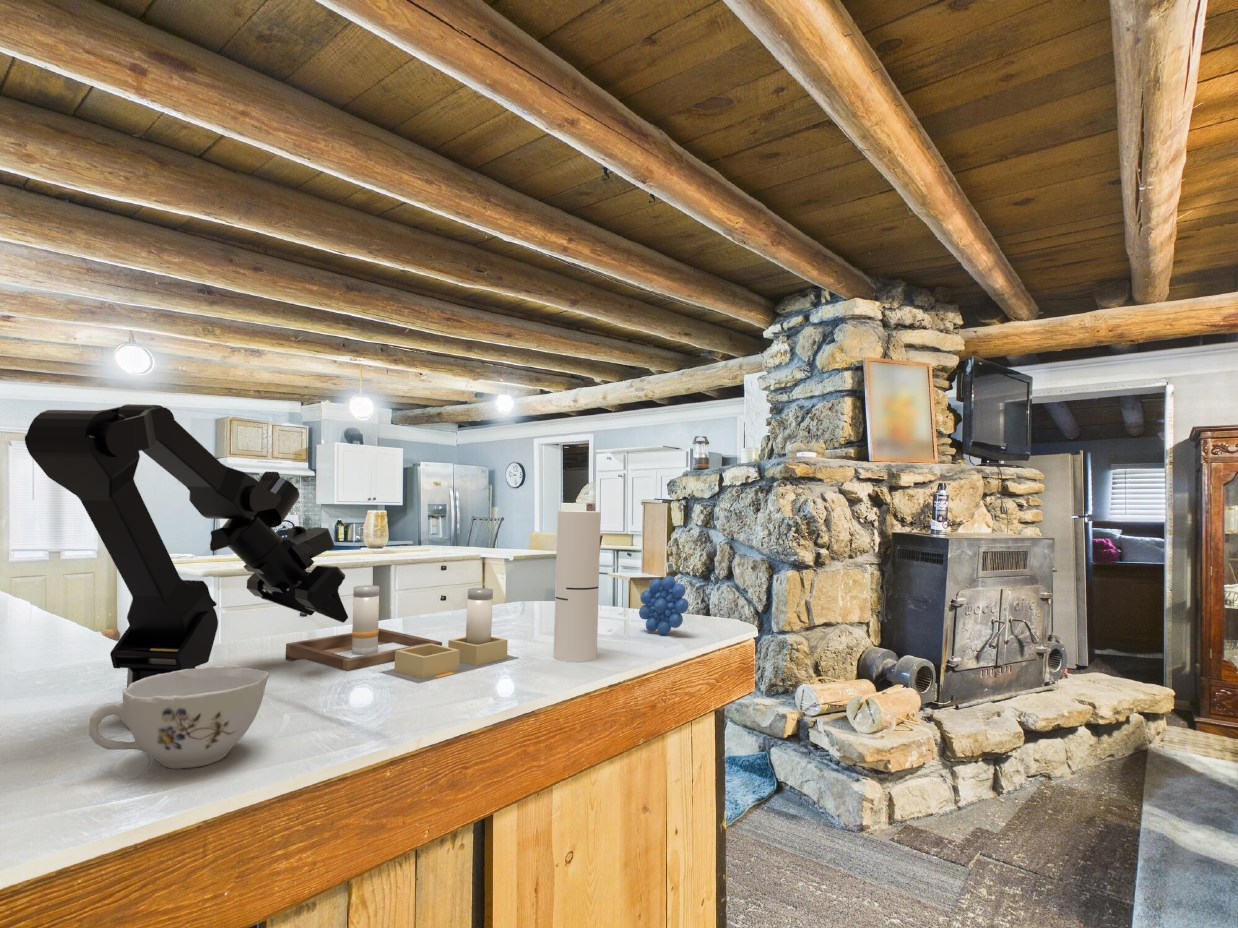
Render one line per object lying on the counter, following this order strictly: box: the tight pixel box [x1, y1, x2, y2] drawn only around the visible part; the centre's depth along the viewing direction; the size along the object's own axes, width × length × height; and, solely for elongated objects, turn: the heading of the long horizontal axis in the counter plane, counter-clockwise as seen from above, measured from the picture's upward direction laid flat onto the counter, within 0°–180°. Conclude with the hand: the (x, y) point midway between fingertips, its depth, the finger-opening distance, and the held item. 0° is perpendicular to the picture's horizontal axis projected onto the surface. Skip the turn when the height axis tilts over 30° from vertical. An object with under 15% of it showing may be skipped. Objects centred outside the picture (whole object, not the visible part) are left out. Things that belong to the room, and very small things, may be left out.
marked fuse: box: [351, 584, 380, 656], centre depth 112 cm, size 4×4×11 cm
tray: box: [284, 627, 443, 672], centre depth 112 cm, size 17×17×2 cm
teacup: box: [88, 666, 270, 769], centre depth 68 cm, size 15×12×8 cm
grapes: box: [638, 575, 689, 636], centre depth 138 cm, size 12×7×12 cm, turn 53°
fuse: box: [465, 587, 494, 645], centre depth 110 cm, size 4×4×11 cm
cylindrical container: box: [553, 510, 602, 664], centre depth 113 cm, size 7×7×25 cm
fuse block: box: [379, 635, 520, 684], centre depth 105 cm, size 20×9×4 cm, turn 144°
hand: (328, 616), depth 107 cm, fingers open, 9 cm apart
